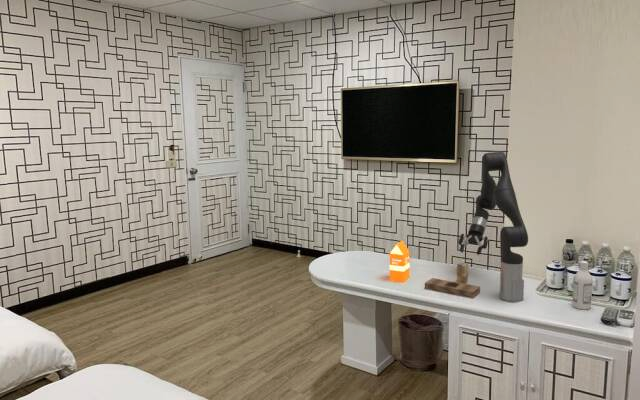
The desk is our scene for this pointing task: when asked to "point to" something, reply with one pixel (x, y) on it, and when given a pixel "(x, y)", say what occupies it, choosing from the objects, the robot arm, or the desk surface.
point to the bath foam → (582, 287)
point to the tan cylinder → (462, 273)
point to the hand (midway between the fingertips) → (469, 253)
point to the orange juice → (399, 263)
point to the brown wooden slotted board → (452, 288)
